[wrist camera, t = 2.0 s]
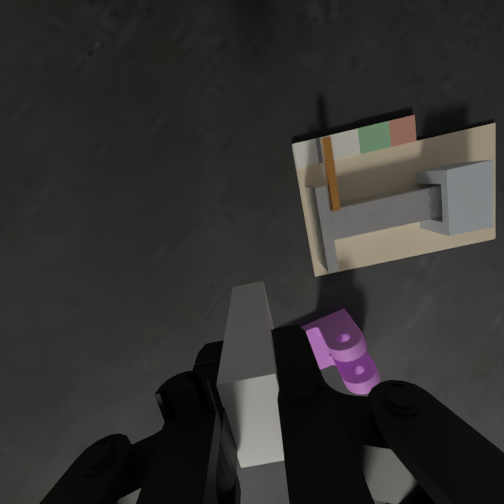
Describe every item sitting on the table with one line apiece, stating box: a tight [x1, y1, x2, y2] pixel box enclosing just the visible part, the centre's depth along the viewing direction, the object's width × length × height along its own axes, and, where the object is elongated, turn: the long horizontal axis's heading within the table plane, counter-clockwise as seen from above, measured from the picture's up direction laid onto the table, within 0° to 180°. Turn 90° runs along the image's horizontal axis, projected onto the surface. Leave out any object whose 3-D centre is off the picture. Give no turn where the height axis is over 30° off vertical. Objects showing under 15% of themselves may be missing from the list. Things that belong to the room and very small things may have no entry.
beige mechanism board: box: [292, 115, 495, 277], centre depth 27 cm, size 14×20×5 cm
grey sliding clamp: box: [305, 137, 443, 273], centre depth 26 cm, size 12×14×5 cm
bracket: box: [301, 308, 381, 394], centre depth 30 cm, size 13×6×7 cm, turn 116°
